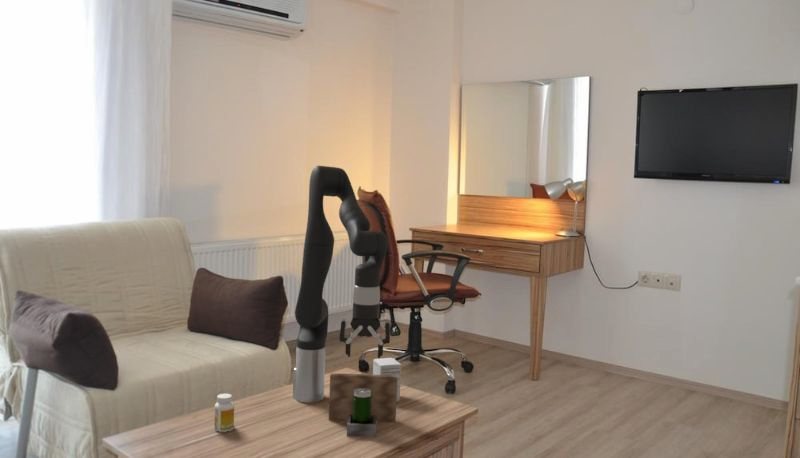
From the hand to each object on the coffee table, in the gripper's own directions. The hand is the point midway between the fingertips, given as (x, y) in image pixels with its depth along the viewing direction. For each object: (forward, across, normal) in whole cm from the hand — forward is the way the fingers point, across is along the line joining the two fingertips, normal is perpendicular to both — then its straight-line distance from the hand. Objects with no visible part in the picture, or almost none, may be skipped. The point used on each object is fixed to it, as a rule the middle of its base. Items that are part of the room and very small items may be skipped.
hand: (364, 356), depth 196 cm
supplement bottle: (+22, -39, -1) cm, 45 cm away
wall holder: (+22, 0, +2) cm, 22 cm away
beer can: (+22, 0, 0) cm, 22 cm away
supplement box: (+22, +7, +27) cm, 36 cm away
